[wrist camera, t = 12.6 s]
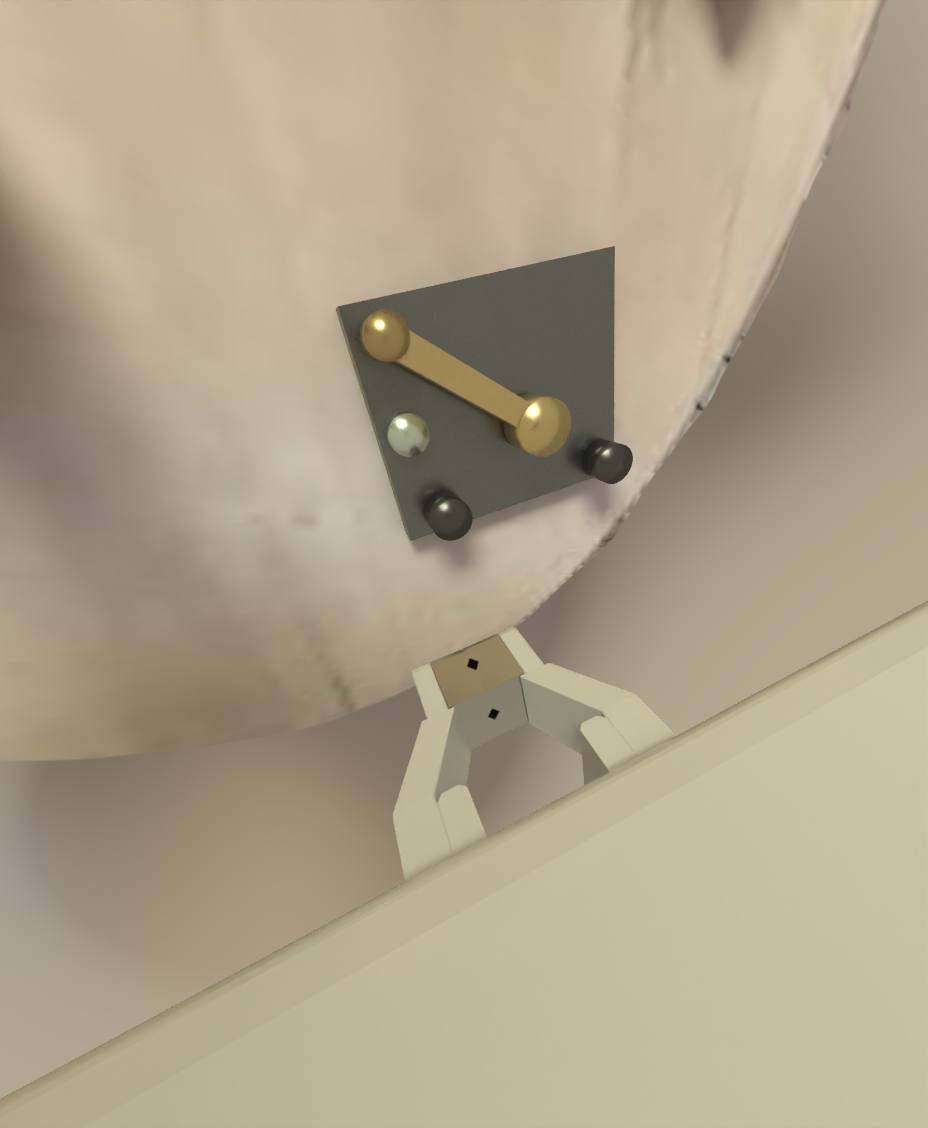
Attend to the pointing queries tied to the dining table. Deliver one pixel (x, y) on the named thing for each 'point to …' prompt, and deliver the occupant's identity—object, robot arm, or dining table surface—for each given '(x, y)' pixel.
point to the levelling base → (513, 360)
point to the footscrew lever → (469, 384)
